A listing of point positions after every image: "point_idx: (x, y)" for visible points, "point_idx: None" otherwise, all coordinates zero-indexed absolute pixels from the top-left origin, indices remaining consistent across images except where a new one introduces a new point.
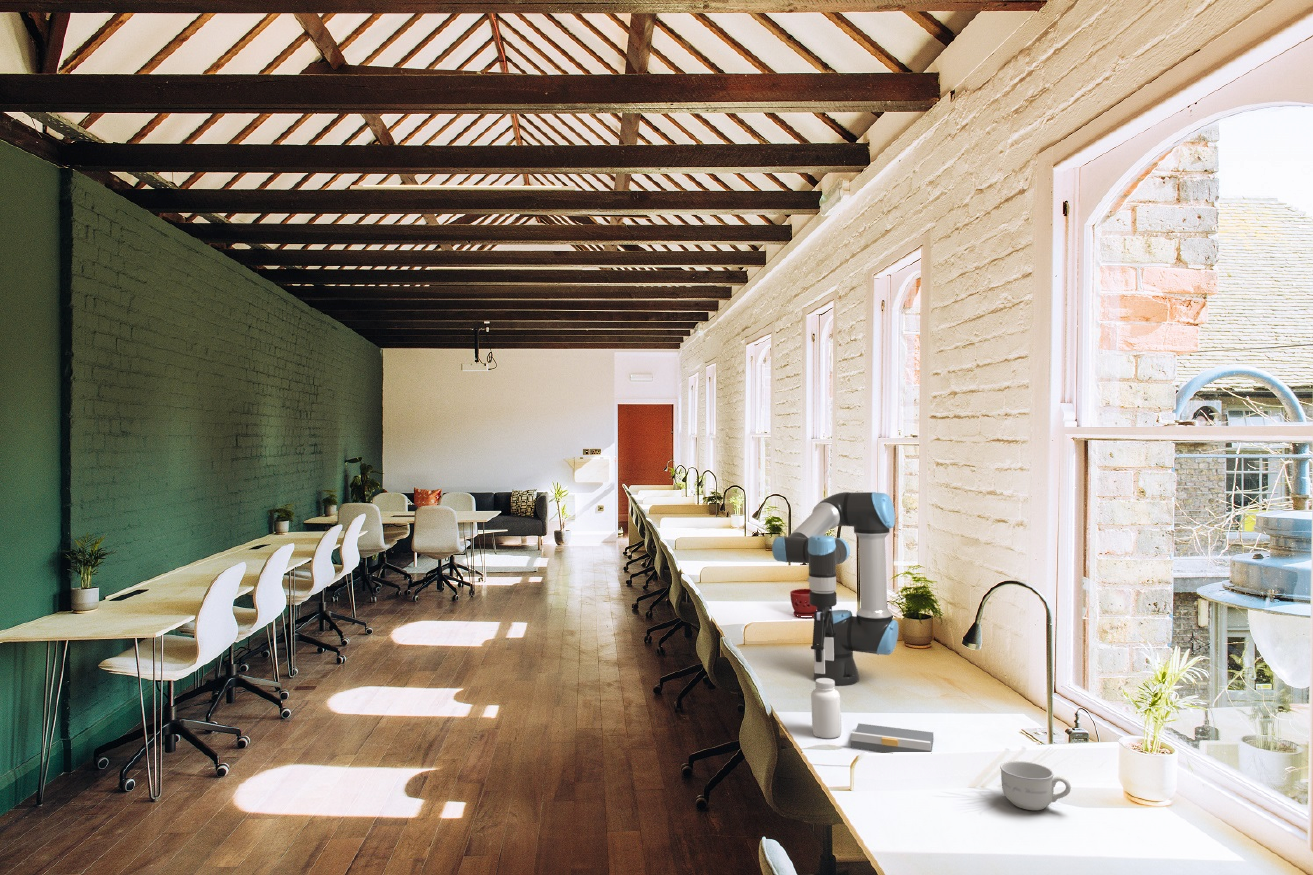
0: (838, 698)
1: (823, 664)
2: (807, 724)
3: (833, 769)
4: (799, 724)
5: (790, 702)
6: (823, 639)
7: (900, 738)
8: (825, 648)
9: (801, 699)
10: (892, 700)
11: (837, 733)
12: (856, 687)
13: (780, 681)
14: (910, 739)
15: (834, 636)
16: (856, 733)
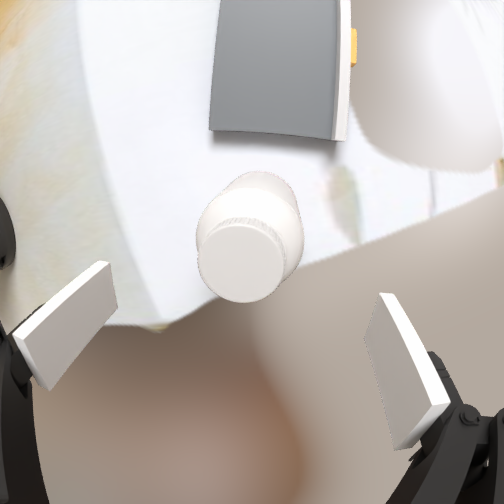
0: (267, 190)
1: (409, 330)
2: None
3: (448, 184)
4: None
5: None
6: (461, 481)
7: (345, 21)
8: (83, 337)
9: None
10: (35, 106)
11: (282, 179)
12: (7, 188)
13: None
14: (343, 2)
15: (2, 330)
16: (345, 126)
